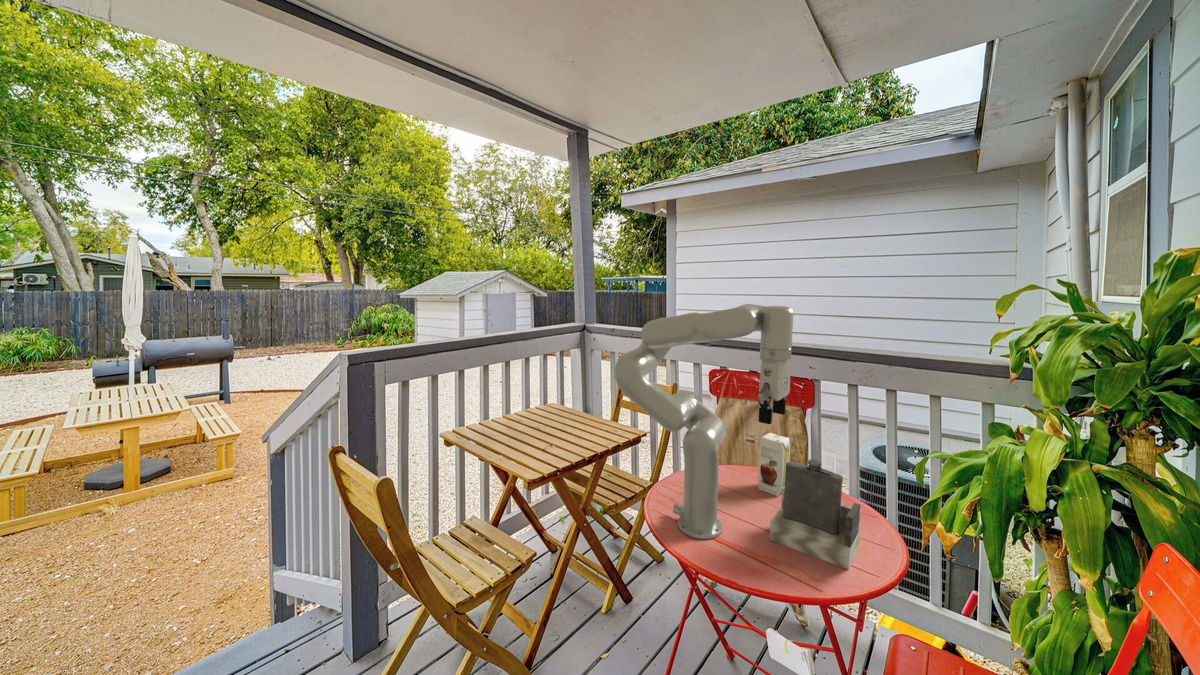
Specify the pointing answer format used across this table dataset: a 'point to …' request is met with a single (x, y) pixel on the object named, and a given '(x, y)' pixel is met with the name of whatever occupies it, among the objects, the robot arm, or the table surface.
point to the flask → (813, 496)
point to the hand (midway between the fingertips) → (772, 418)
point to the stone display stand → (821, 536)
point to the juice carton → (773, 463)
